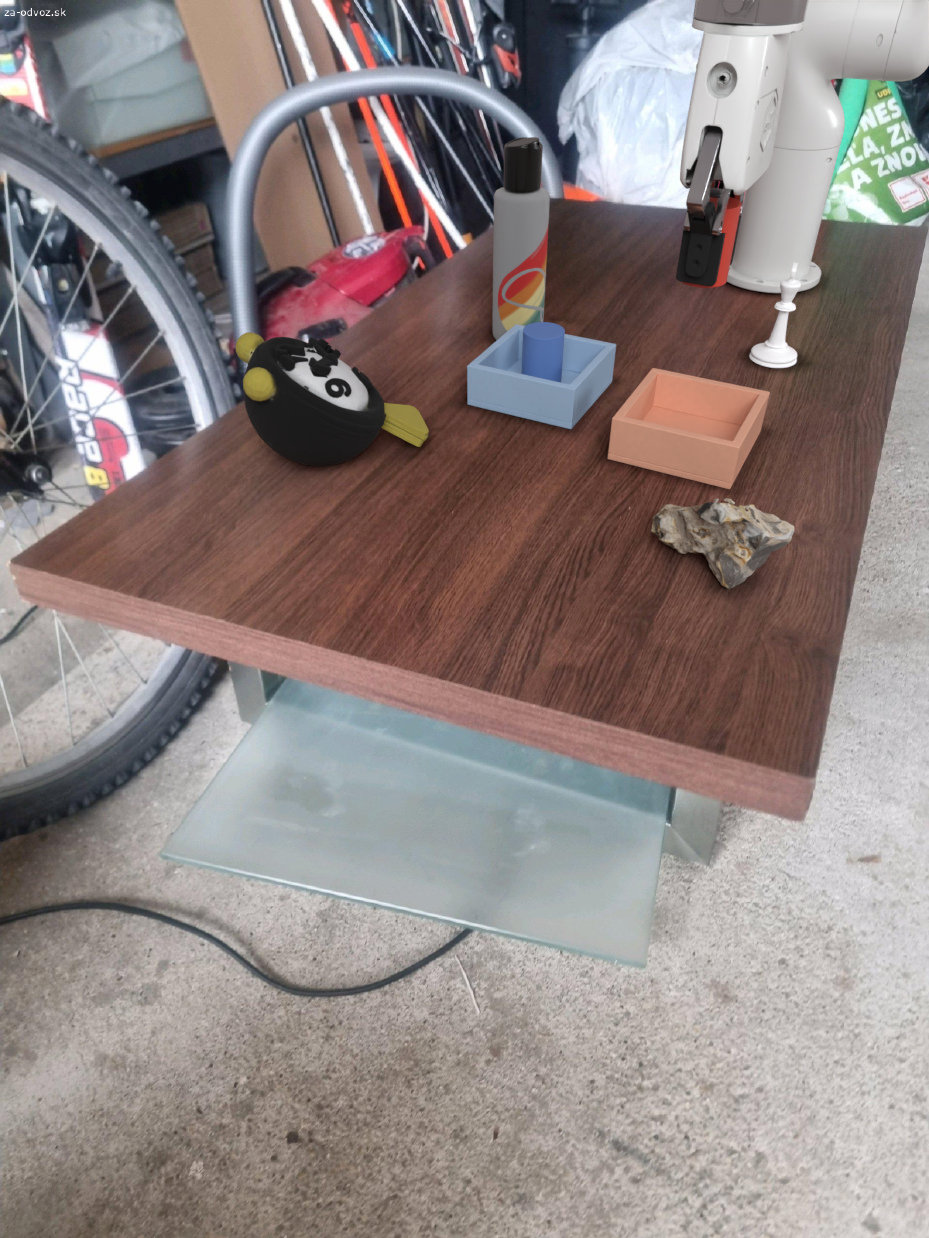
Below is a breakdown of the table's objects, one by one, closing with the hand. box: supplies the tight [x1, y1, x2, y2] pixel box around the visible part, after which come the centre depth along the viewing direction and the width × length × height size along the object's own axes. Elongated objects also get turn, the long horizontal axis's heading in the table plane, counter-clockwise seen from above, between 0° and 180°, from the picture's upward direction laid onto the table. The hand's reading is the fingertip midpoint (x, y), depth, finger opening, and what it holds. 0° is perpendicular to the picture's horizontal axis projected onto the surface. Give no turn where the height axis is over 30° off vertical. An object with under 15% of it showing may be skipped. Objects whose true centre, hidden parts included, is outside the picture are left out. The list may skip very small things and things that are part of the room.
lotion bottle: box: [492, 136, 551, 341], centre depth 91 cm, size 6×6×20 cm
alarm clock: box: [235, 331, 430, 467], centre depth 75 cm, size 12×15×15 cm
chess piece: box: [748, 262, 801, 369], centre depth 89 cm, size 5×5×10 cm
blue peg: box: [521, 321, 566, 383], centre depth 85 cm, size 4×4×6 cm
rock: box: [650, 497, 795, 590], centre depth 64 cm, size 9×7×10 cm
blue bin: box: [466, 324, 617, 430], centre depth 86 cm, size 11×11×4 cm
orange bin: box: [607, 367, 771, 490], centre depth 78 cm, size 11×11×4 cm
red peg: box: [681, 197, 742, 289], centre depth 70 cm, size 4×4×6 cm
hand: (704, 271), depth 71 cm, fingers closed on red peg, 4 cm apart
